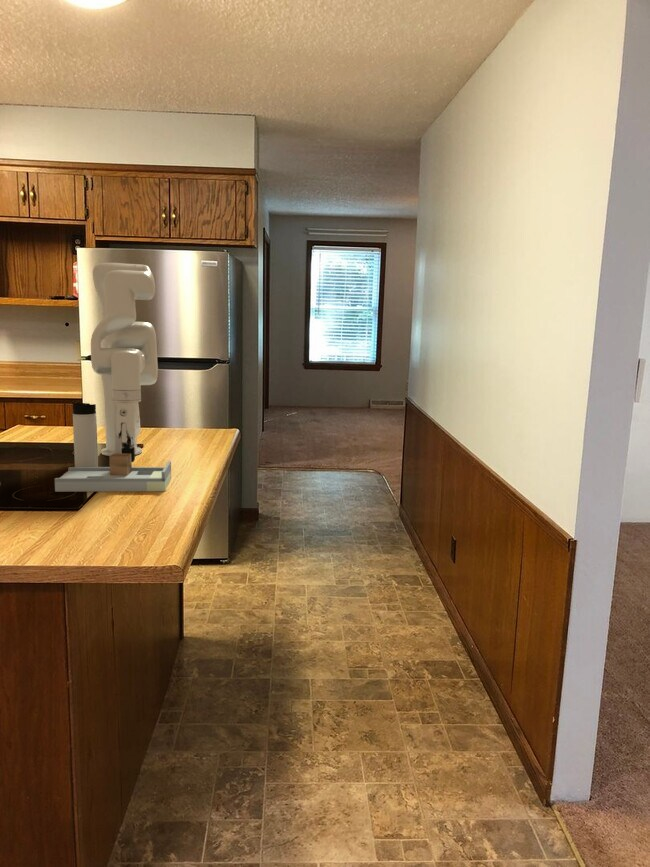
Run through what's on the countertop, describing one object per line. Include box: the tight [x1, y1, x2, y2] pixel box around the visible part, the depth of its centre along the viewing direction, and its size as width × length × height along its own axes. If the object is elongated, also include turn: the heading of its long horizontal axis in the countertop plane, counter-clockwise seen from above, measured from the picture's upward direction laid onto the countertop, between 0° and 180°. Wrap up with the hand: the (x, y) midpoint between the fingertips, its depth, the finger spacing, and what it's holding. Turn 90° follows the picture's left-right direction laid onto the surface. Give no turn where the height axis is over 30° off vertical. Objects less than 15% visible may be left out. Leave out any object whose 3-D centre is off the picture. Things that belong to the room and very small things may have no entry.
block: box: [108, 453, 133, 476], centre depth 169 cm, size 4×4×5 cm
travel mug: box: [71, 401, 99, 467], centre depth 180 cm, size 6×7×20 cm
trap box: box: [54, 460, 172, 493], centre depth 167 cm, size 13×27×5 cm, turn 96°
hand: (128, 461), depth 176 cm, fingers closed
